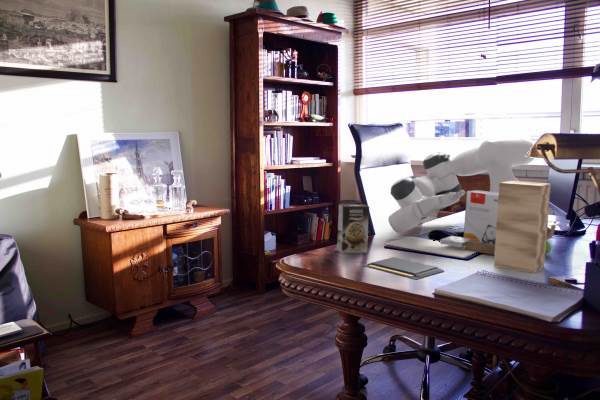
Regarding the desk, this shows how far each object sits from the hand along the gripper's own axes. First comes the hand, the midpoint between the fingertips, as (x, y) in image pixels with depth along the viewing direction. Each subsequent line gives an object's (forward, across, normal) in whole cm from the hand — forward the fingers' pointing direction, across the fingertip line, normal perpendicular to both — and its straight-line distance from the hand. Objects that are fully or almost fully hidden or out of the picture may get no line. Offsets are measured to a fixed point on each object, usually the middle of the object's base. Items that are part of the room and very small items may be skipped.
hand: (458, 192), depth 184 cm
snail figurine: (+13, -12, -31) cm, 35 cm away
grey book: (-10, +38, -18) cm, 43 cm away
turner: (-2, 0, -18) cm, 18 cm away
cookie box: (-31, +30, -6) cm, 43 cm away
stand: (+12, +10, -30) cm, 34 cm away
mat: (-16, +3, -14) cm, 21 cm away
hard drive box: (-4, -11, -21) cm, 24 cm away
